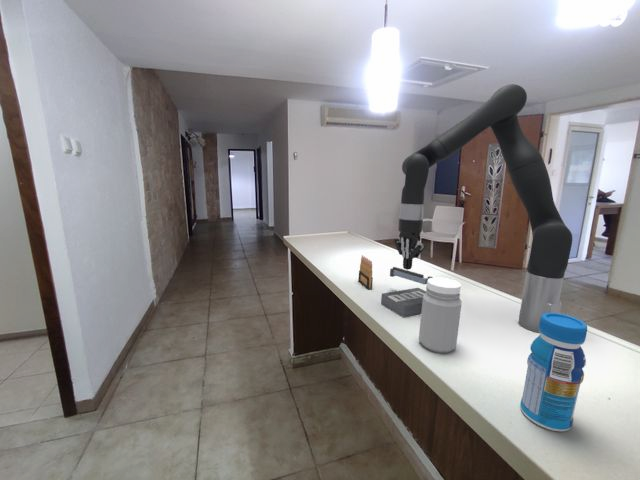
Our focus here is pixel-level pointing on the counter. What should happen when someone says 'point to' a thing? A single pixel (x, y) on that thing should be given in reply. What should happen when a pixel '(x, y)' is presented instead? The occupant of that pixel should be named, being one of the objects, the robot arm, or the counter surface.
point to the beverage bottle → (554, 372)
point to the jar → (440, 315)
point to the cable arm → (408, 275)
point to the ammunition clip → (365, 273)
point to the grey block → (404, 301)
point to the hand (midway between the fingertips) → (407, 268)
